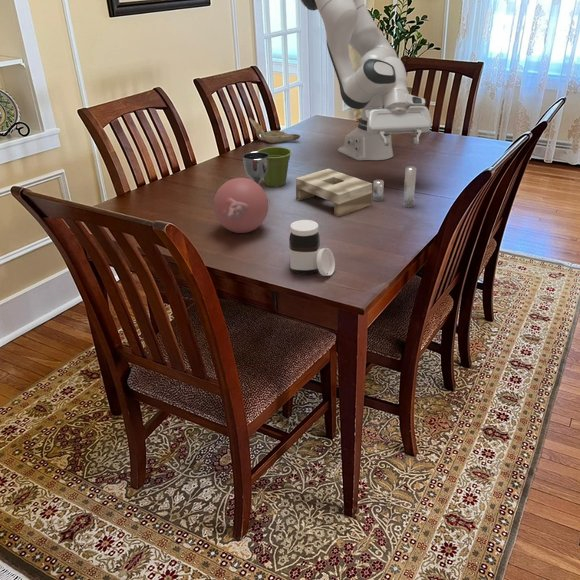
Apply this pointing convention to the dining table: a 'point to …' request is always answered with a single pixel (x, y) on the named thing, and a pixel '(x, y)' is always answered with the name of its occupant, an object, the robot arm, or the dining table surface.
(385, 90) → the robot arm
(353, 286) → the dining table surface
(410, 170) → the grey peg
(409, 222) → the dining table surface
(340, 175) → the board
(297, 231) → the spread jar
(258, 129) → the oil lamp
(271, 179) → the plant pot
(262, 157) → the wine glass
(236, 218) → the balloon
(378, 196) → the short pin
